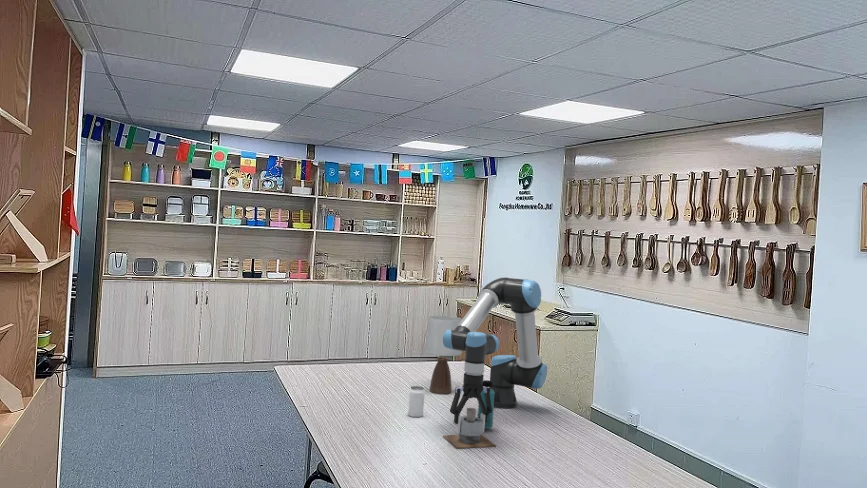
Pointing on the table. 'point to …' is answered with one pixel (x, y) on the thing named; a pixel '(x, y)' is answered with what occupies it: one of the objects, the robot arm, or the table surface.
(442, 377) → the lamp
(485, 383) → the beverage bottle
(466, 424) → the hub
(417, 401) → the can
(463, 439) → the peg on square base
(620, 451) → the table surface
